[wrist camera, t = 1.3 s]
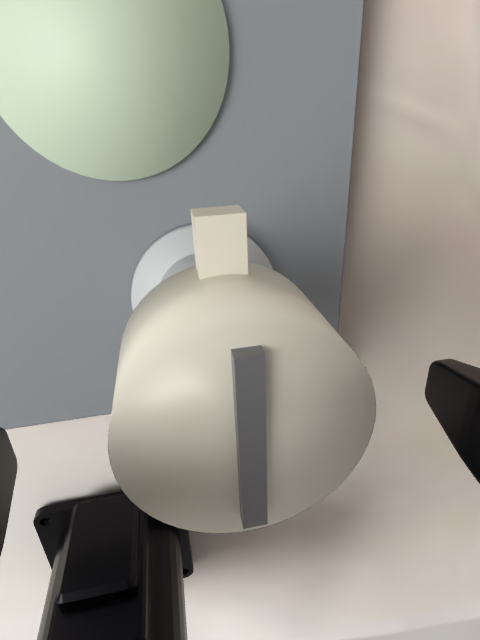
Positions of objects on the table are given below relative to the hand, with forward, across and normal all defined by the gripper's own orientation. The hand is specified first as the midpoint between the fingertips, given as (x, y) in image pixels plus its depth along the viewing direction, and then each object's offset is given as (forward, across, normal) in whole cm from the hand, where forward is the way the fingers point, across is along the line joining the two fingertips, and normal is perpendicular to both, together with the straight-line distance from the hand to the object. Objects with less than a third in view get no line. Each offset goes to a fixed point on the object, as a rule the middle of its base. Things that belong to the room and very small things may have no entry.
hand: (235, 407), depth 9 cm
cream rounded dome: (+2, 0, 0) cm, 2 cm away
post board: (+7, +1, -3) cm, 8 cm away
